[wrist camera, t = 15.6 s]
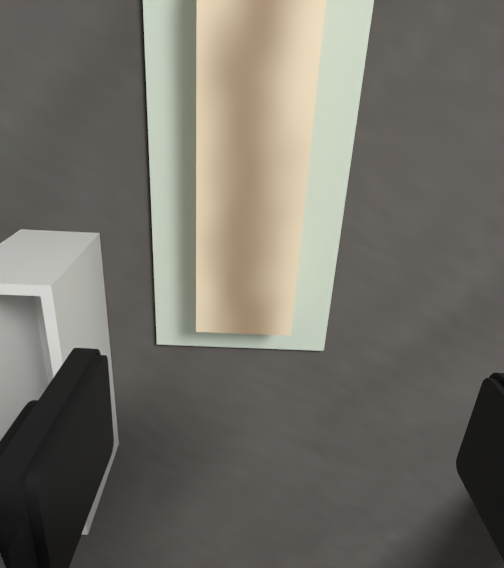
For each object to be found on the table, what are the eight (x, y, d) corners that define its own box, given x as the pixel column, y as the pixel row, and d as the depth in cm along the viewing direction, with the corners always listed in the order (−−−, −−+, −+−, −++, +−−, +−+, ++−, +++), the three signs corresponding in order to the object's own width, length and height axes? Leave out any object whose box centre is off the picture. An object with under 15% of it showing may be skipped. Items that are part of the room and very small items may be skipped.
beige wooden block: (321, -34, 23) (331, -49, 20) (287, 312, 31) (291, 335, 29) (202, -42, 23) (196, -59, 20) (200, 309, 31) (195, 331, 28)
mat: (385, -102, 22) (388, -106, 22) (322, 347, 33) (323, 350, 33) (139, -120, 22) (137, -125, 21) (158, 340, 33) (156, 344, 32)
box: (99, 233, 29) (51, 285, 22) (118, 443, 37) (87, 534, 29) (20, 229, 29) (-55, 281, 22) (56, 441, 37) (10, 532, 29)
